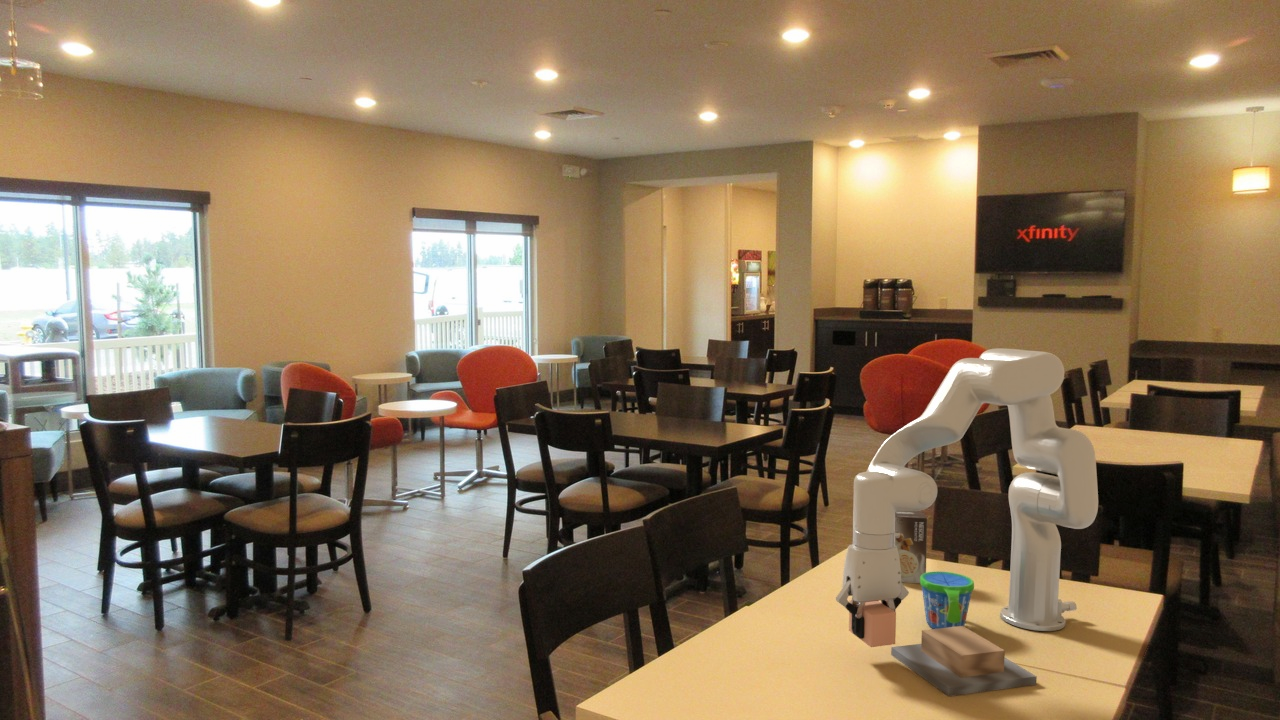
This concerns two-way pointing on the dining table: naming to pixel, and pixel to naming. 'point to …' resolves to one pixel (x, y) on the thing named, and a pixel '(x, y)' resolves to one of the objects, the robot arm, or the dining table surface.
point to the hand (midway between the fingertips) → (871, 633)
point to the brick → (877, 624)
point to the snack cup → (946, 598)
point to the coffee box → (911, 544)
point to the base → (957, 682)
